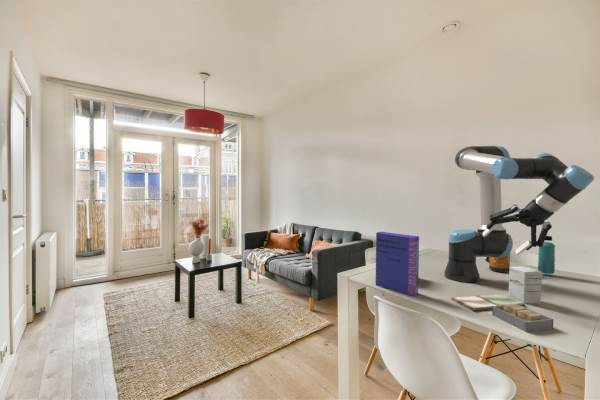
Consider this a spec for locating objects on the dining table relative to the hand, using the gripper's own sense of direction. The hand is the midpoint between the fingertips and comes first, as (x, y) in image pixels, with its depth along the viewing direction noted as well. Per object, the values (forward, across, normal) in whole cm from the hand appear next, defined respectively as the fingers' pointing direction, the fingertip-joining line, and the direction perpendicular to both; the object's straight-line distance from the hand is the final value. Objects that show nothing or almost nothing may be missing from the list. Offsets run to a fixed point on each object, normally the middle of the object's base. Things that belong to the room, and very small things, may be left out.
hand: (499, 243), depth 114 cm
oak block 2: (+4, +9, -32) cm, 33 cm away
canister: (+30, +26, +32) cm, 51 cm away
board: (+15, +4, -18) cm, 24 cm away
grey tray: (+6, +8, -30) cm, 32 cm away
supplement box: (+12, +18, -9) cm, 23 cm away
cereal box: (+34, -23, -18) cm, 45 cm away
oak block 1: (+8, +7, -28) cm, 30 cm away
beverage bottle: (+19, +43, +34) cm, 58 cm away
